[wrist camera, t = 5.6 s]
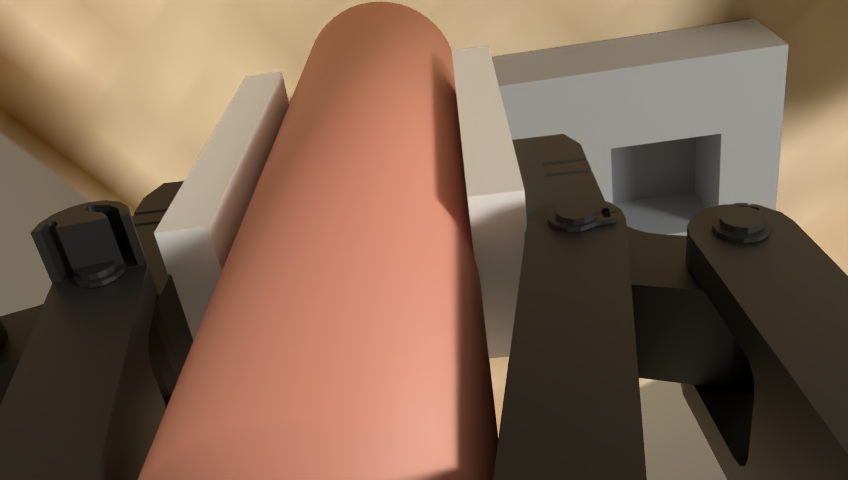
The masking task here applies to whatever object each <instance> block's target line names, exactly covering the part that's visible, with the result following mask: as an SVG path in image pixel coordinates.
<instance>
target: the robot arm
mask: <svg viewBox="0 0 848 480" xmlns="http://www.w3.org/2000/svg"><path fill="white" fill-rule="evenodd" d="M452 59H453V68H454V78H455V87H456V96H457V105H458V115H459V124H460V133H461V143H462V152H463V161H464V171H465V180H466V189H467V198H468V207H469V216H470V225H471V234H472V243H473V251H474V260H475V263H476V265H477V268H478V273H479V278H480V285H481V293H482V302H483V311H484V319H485V328H486V337H487V346H488V354H489V358H497V357H507V356H509V363H508V371H507V378H506V386H505V393H504V401H503V409H502V416H501V424H500V431H499V439H498V446H497V454H496V461H495V469H494V477H493V480H647V479H646V466H645V453H644V441H643V429H642V415H641V402H640V389H639V378H645V379H653V380H661V381H669V382H677V383H681V387H682V391H683V395H684V397H685V399H686V401H687V403H688V405H689V407H690V409H691V411H692V413H693V415H694V416H695V418H696V420H697V422H698V424H699V426H700V428H701V430H702V432H703V434H704V436H705V437H706V439H707V441H708V443H709V445H710V447H711V449H712V451H713V453H714V455H715V457H716V459H717V461H718V463H719V464H720V466H721V468H722V470H723V472H724V474H725V476H726V478H727V480H848V276H847V275H846V274H845V273H844V272H843V271H842V270H841V269H840V268H839V267H838V265H837V264H836V263H835V262H834V261H833V260H832V259H831V258H830V257H829V256H828V255H827V254H826V253H825V252H824V251H823V250H822V249H821V248H820V247H819V246H818V245H817V244H816V243H815V242H814V241H813V240H812V239H811V238H810V237H809V236H808V235H807V234H806V233H805V232H804V231H803V230H802V229H801V228H800V227H799V226H798V225H797V224H796V223H795V222H794V221H793V220H792V219H790V218H789V217H787V216H786V215H784V214H783V213H781V212H779V211H776V210H773V209H769V208H766V207H763V206H761V205H757V204H751V205H749V204H748V203H735V204H724V205H718V206H714V207H710V208H706V209H704V210H702V211H700V212H699V213H697V214H695V215H694V216H692V218H691V220H690V221H689V223H688V225H687V236H681V235H665V234H656V233H648V232H644V231H640V230H636V229H633V228H630V227H628V226H627V224H626V217H625V216H624V214H623V212H622V210H621V209H620V208H618V207H617V206H615V205H613V204H612V203H610V202H606V201H605V200H604V197H603V195H602V193H601V190H600V188H599V186H598V183H597V181H596V179H595V176H594V174H593V172H592V171H591V167H590V165H589V162H588V160H587V158H586V155H585V153H584V151H583V149H582V146H581V144H579V143H578V142H576V141H575V140H573V139H571V138H570V137H568V136H566V135H565V134H557V135H549V136H540V137H532V138H524V139H515V140H512V137H511V133H510V129H509V125H508V121H507V117H506V113H505V109H504V105H503V101H502V97H501V93H500V89H499V85H498V81H497V77H496V73H495V69H494V65H493V61H492V57H491V53H490V49H489V46H481V47H473V48H466V49H458V50H452ZM288 107H289V102H288V97H287V93H286V88H285V84H284V79H283V75H282V72H276V73H268V74H260V75H252V76H246V77H245V78H244V80H243V82H242V84H241V85H240V87H239V89H238V90H237V92H236V94H235V96H234V97H233V99H232V101H231V102H230V104H229V106H228V107H227V109H226V111H225V113H224V114H223V116H222V118H221V119H220V121H219V123H218V124H217V126H216V128H215V130H214V131H213V133H212V135H211V136H210V138H209V140H208V141H207V143H206V145H205V147H204V148H203V150H202V152H201V153H200V155H199V157H198V159H197V160H196V162H195V164H194V165H193V167H192V169H191V170H190V172H189V174H188V176H187V177H186V179H185V181H180V182H172V183H164V184H162V185H161V186H160V187H158V188H157V189H155V190H154V191H153V192H151V193H150V194H149V195H147V196H146V197H144V198H143V200H142V202H141V203H140V205H139V206H138V208H137V209H136V211H135V212H134V216H131V213H130V211H129V208H128V206H126V205H125V204H123V203H121V202H117V201H107V200H105V201H96V202H88V203H85V204H81V205H77V206H73V207H70V208H67V209H65V210H63V211H61V212H58V213H56V214H53V215H51V216H50V217H48V218H47V219H46V220H44V221H42V222H41V223H39V224H38V225H37V226H36V227H35V229H34V230H33V231H32V232H31V235H32V237H33V239H34V242H35V244H36V247H37V249H38V251H39V254H40V256H41V258H42V261H43V263H44V265H45V268H46V270H47V272H48V274H49V277H50V279H51V281H52V286H51V288H50V290H49V293H48V295H47V297H46V300H45V302H44V304H42V305H39V306H36V307H32V308H29V309H25V310H22V311H19V312H15V313H11V314H8V315H4V316H0V480H137V479H138V477H139V474H140V472H141V470H142V467H143V465H144V462H145V460H146V457H147V455H148V452H149V450H150V447H151V445H152V442H153V440H154V437H155V435H156V432H157V430H158V428H159V425H160V423H161V420H162V418H163V415H164V413H165V410H166V408H167V405H168V403H169V400H170V398H171V395H172V393H173V391H174V388H175V386H176V383H177V381H178V378H179V376H180V373H181V371H182V368H183V366H184V363H185V361H186V358H187V356H188V353H189V351H190V349H191V346H192V344H193V341H194V339H195V336H196V334H197V331H198V329H199V326H200V324H201V321H202V319H203V316H204V314H205V312H206V309H207V307H208V304H209V302H210V299H211V297H212V294H213V292H214V289H215V287H216V284H217V282H218V279H219V277H220V274H221V272H222V270H223V267H224V265H225V262H226V260H227V257H228V255H229V252H230V250H231V247H232V245H233V242H234V240H235V237H236V235H237V233H238V230H239V228H240V225H241V223H242V220H243V218H244V215H245V213H246V210H247V208H248V205H249V203H250V200H251V198H252V195H253V193H254V191H255V188H256V186H257V183H258V181H259V178H260V176H261V173H262V171H263V168H264V166H265V163H266V161H267V158H268V156H269V154H270V151H271V149H272V146H273V144H274V141H275V139H276V136H277V134H278V131H279V129H280V126H281V124H282V121H283V119H284V117H285V114H286V112H287V109H288Z"/></svg>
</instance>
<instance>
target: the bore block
mask: <svg viewBox="0 0 848 480" xmlns="http://www.w3.org/2000/svg"><path fill="white" fill-rule="evenodd" d="M788 47H789V44H788V43H786V42H785V41H784V40H782V39H781V38H780V37H778V36H777V35H776V34H774V33H773V32H772V31H770V30H769V29H768V28H766V27H765V26H764V25H763V24H761V23H760V22H759V21H757V20H756V19H755V18H753V19H746V20H739V21H733V22H726V23H719V24H712V25H706V26H699V27H692V28H685V29H678V30H672V31H665V32H658V33H651V34H645V35H638V36H631V37H624V38H617V39H611V40H604V41H597V42H590V43H584V44H577V45H570V46H563V47H557V48H550V49H543V50H536V51H529V52H523V53H516V54H509V55H502V56H496V57H492V61H493V65H494V69H495V73H496V77H497V81H498V85H499V89H500V93H501V97H502V101H503V105H504V109H505V113H506V117H507V121H508V125H509V129H510V133H511V137H512V140H515V139H524V138H532V137H540V136H549V135H557V134H565V135H566V136H568V137H570V138H571V139H573V140H575V141H576V142H578V143H579V144H581V146H582V149H583V151H584V153H585V155H586V158H587V160H588V162H589V165H590V167H591V171H592V172H593V174H594V176H595V179H596V181H597V183H598V186H599V188H600V190H601V193H602V195H603V197H604V200H605V201H606V202H610V203H612V204H613V205H615V206H617V207H618V208H620V209H621V210H622V212H623V214H624V216H625V217H626V224H627V226H628V227H630V228H633V229H636V230H640V231H644V232H648V233H656V234H665V235H681V236H687V225H688V223H689V221H690V220H691V218H692V216H694V215H695V214H697V213H699V212H700V211H702V210H704V209H706V208H710V207H714V206H718V205H724V204H735V203H748V204H749V205H751V204H757V205H761V206H763V207H766V208H769V209H773V210H776V199H777V186H778V174H779V161H780V148H781V136H782V123H783V110H784V98H785V85H786V72H787V60H788Z"/></svg>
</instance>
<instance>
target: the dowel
mask: <svg viewBox="0 0 848 480" xmlns="http://www.w3.org/2000/svg"><path fill="white" fill-rule="evenodd" d="M497 446H498V433H497V424H496V415H495V407H494V398H493V389H492V380H491V372H490V363H489V354H488V346H487V337H486V328H485V319H484V311H483V302H482V293H481V285H480V278H479V273H478V268H477V265H476V263H475V260H474V251H473V243H472V234H471V225H470V216H469V207H468V198H467V189H466V180H465V171H464V161H463V152H462V143H461V133H460V124H459V115H458V105H457V96H456V87H455V78H454V68H453V59H452V51H451V48H450V46H449V44H448V42H447V40H446V38H445V37H444V35H443V34H442V32H441V31H440V30H439V29H438V28H437V26H436V25H435V24H434V23H433V22H431V21H430V20H429V19H428V18H427V17H425V16H424V15H422V14H421V13H419V12H417V11H415V10H413V9H411V8H409V7H406V6H403V5H401V4H396V3H391V2H370V3H365V4H360V5H357V6H354V7H351V8H349V9H347V10H345V11H343V12H342V13H340V14H339V15H337V16H336V17H334V18H333V19H332V20H331V21H330V22H329V23H328V24H327V25H326V26H325V27H324V28H323V30H322V31H321V32H320V34H319V35H318V37H317V39H316V41H315V43H314V45H313V47H312V50H311V52H310V55H309V57H308V60H307V62H306V65H305V67H304V70H303V72H302V75H301V77H300V79H299V82H298V84H297V87H296V89H295V92H294V94H293V97H292V99H291V102H290V104H289V107H288V109H287V112H286V114H285V117H284V119H283V121H282V124H281V126H280V129H279V131H278V134H277V136H276V139H275V141H274V144H273V146H272V149H271V151H270V154H269V156H268V158H267V161H266V163H265V166H264V168H263V171H262V173H261V176H260V178H259V181H258V183H257V186H256V188H255V191H254V193H253V195H252V198H251V200H250V203H249V205H248V208H247V210H246V213H245V215H244V218H243V220H242V223H241V225H240V228H239V230H238V233H237V235H236V237H235V240H234V242H233V245H232V247H231V250H230V252H229V255H228V257H227V260H226V262H225V265H224V267H223V270H222V272H221V274H220V277H219V279H218V282H217V284H216V287H215V289H214V292H213V294H212V297H211V299H210V302H209V304H208V307H207V309H206V312H205V314H204V316H203V319H202V321H201V324H200V326H199V329H198V331H197V334H196V336H195V339H194V341H193V344H192V346H191V349H190V351H189V353H188V356H187V358H186V361H185V363H184V366H183V368H182V371H181V373H180V376H179V378H178V381H177V383H176V386H175V388H174V391H173V393H172V395H171V398H170V400H169V403H168V405H167V408H166V410H165V413H164V415H163V418H162V420H161V423H160V425H159V428H158V430H157V432H156V435H155V437H154V440H153V442H152V445H151V447H150V450H149V452H148V455H147V457H146V460H145V462H144V465H143V467H142V470H141V472H140V474H139V477H138V479H137V480H493V477H494V469H495V461H496V454H497Z"/></svg>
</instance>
